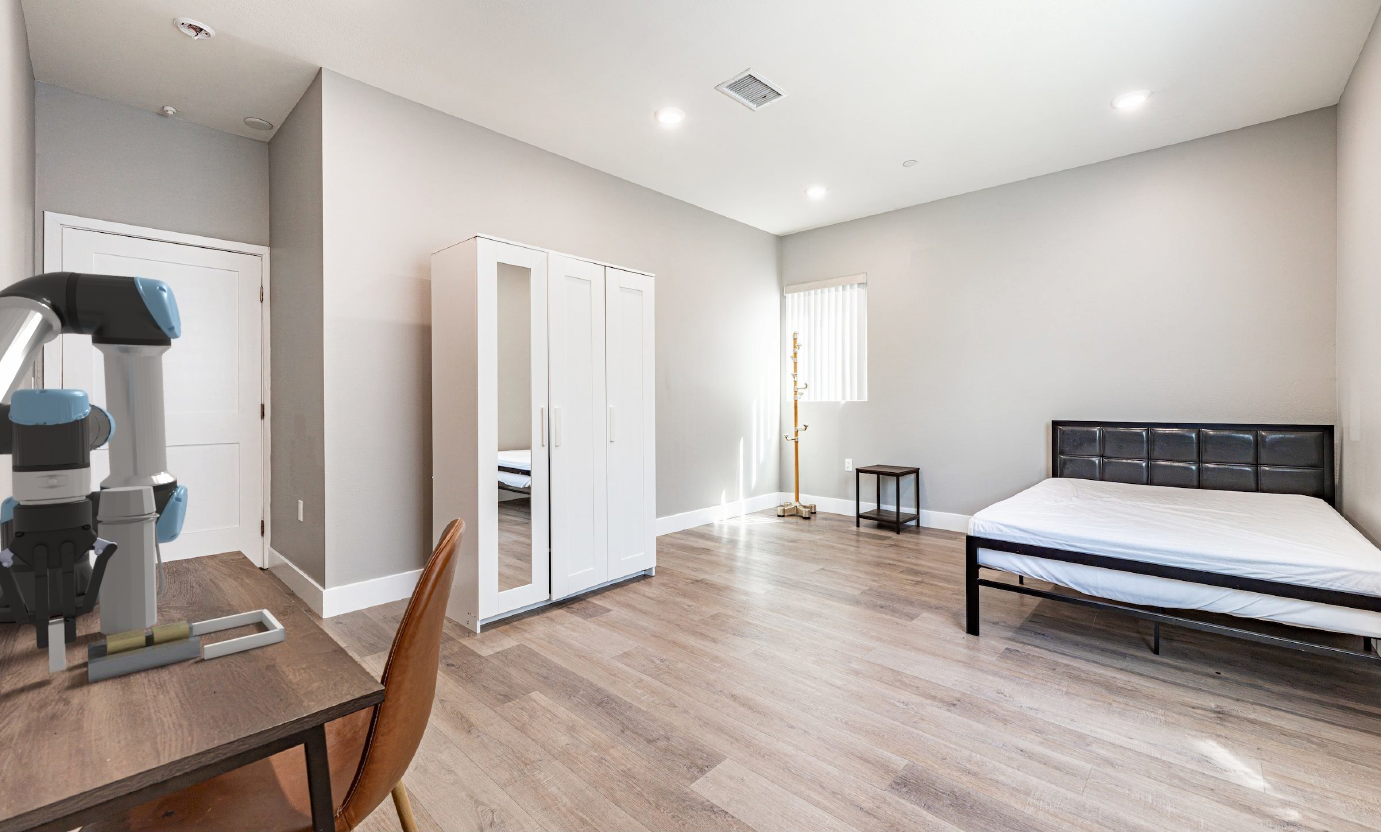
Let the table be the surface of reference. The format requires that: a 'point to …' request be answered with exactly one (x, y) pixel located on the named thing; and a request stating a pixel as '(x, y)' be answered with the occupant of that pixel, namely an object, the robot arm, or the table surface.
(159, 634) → the khaki cube block
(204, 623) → the white rectangular frame
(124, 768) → the table surface
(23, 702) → the table surface
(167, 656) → the slot rail
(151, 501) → the water bottle
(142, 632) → the tan cube block
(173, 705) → the table surface
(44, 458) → the robot arm
